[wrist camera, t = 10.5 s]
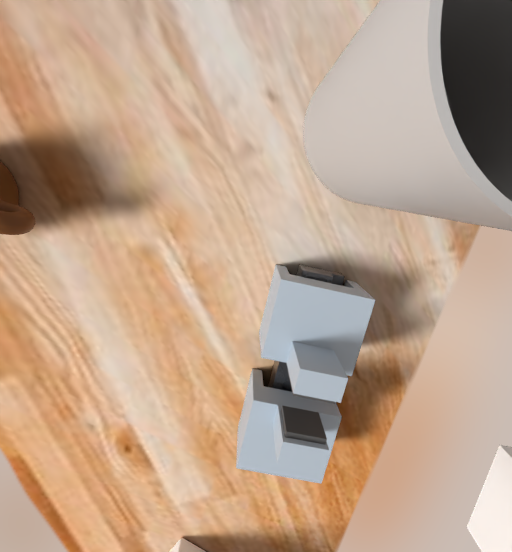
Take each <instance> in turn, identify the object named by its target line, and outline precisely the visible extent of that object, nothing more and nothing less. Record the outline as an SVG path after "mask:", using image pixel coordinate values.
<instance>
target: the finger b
mask: <svg viewBox="0 0 512 552" xmlns="http://www.w3.org/2000/svg"><path fill="white" fill-rule="evenodd" d="M374 303H375V299H374V298H373V297H372V296H371V295H369V294H368V293H367V292H366V291H365V290H364V289H363V288H362V287H361V286H360V285H358V284H357V283H356V282H353V281H348V280H346V282H345V285H344V286H341V285H336V284H332V283H327V282H323V281H318V280H314V279H309V278H305V277H300V276H296V275H291V274H289V272H288V270H287V268H286V267H285V266H281V265H276V266H275V270H274V274H273V278H272V282H271V286H270V290H269V294H268V298H267V302H266V306H265V310H264V314H263V318H262V323H261V327H260V331H259V335H260V347H261V358H265V359H270V360H275V361H280V362H285V363H287V367H288V374H289V378H290V383H291V388H292V392H293V396H297V397H302V398H307V399H312V400H318V401H323V402H328V403H333V404H335V402H339V403H341V401H342V397H343V394H344V391H345V388H346V384H347V381H348V377H347V375H349V376H352V374H353V371H354V368H355V364H356V361H357V358H358V355H359V351H360V348H361V345H362V342H363V339H364V335H365V332H366V329H367V326H368V322H369V319H370V316H371V313H372V310H373V306H374Z"/></svg>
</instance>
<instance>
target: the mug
mask: <svg viewBox="0 0 512 552" xmlns="http://www.w3.org/2000/svg"><path fill="white" fill-rule="evenodd" d="M18 203H19V193H18V188H17V185H16V182H15V180H14V178H13V176H12V174H11V172H10V171H9V170H8V169H7V167H6V166H5V165H4V164H3V163H2V162H0V234H8V235H19V234H24V233H27V232H29V231H30V230H31V229H32V228H33V227H34V225H35V218H34V216H33V214H32V213H31V212H30V211H28V210H27V209H25V208H23V207H20V206H18Z"/></svg>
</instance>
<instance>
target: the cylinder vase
mask: <svg viewBox="0 0 512 552" xmlns="http://www.w3.org/2000/svg"><path fill="white" fill-rule="evenodd" d="M303 138H304V147H305V152H306V155H307V159H308V161H309V164H310V166H311V168H312V170H313V172H314V173H315V175H316V176H317V178H318V179H319V180H320V181H321V183H322V184H323V185H324V186H325V187H326V188H327V189H329V190H330V191H331V192H332V193H334V194H335V195H337V196H339V197H341V198H343V199H345V200H348V201H351V202H354V203H359V204H364V205H370V206H375V207H381V208H386V209H392V210H398V211H403V212H409V213H414V214H420V215H425V216H431V217H437V218H442V219H448V220H453V221H459V222H465V223H470V224H476V225H481V226H487V227H492V228H498V229H504V230H510V231H512V0H380V1H379V3H378V4H377V5H376V7H375V8H374V10H373V11H372V12H371V14H370V15H369V16H368V18H367V19H366V21H365V22H364V23H363V25H362V26H361V27H360V29H359V30H358V32H357V33H356V34H355V36H354V37H353V39H352V40H351V41H350V43H349V44H348V45H347V47H346V48H345V50H344V51H343V52H342V54H341V55H340V56H339V58H338V59H337V61H336V62H335V63H334V65H333V66H332V67H331V69H330V70H329V72H328V73H327V74H326V76H325V77H324V79H323V80H322V81H321V83H320V84H319V85H318V87H317V88H316V90H315V92H314V94H313V96H312V98H311V100H310V102H309V105H308V108H307V111H306V115H305V120H304V129H303Z"/></svg>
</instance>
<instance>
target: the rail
mask: <svg viewBox="0 0 512 552" xmlns="http://www.w3.org/2000/svg"><path fill="white" fill-rule="evenodd" d="M296 276H300V277H305V278H309V279H314V280H318V281H323V282H327V283H332V284H336V285H341V286H342V283H343V280H344V276H343V275H342V274H340V273H336V272H331V271H327V270H322V269H318V268H313V267H309V266H304V265H300V264H299V267H298V271H297V275H296ZM268 387H270V388H275V389H280V390H285V391H290V392H292V388H291V383H290V378H289V374H288V367H287V363H285V362H280V361H274V365H273V369H272V373H271V377H270V380H269V384H268Z"/></svg>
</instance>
